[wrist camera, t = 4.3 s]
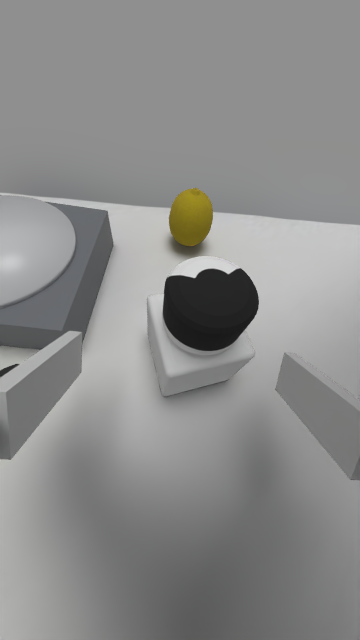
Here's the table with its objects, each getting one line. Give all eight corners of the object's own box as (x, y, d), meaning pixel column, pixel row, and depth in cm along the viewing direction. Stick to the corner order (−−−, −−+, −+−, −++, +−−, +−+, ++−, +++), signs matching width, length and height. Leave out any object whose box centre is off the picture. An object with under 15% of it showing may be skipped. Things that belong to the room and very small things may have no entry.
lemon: (192, 227, 34) (203, 172, 27) (212, 251, 32) (229, 198, 25) (160, 237, 32) (163, 180, 26) (179, 263, 30) (187, 208, 23)
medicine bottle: (229, 380, 23) (294, 324, 13) (162, 398, 21) (173, 350, 11) (207, 321, 26) (244, 238, 16) (147, 332, 25) (144, 248, 14)
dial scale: (114, 240, 31) (107, 202, 26) (78, 353, 22) (59, 327, 18) (-22, 222, 30) (-55, 178, 25) (-114, 333, 21) (-190, 299, 17)
